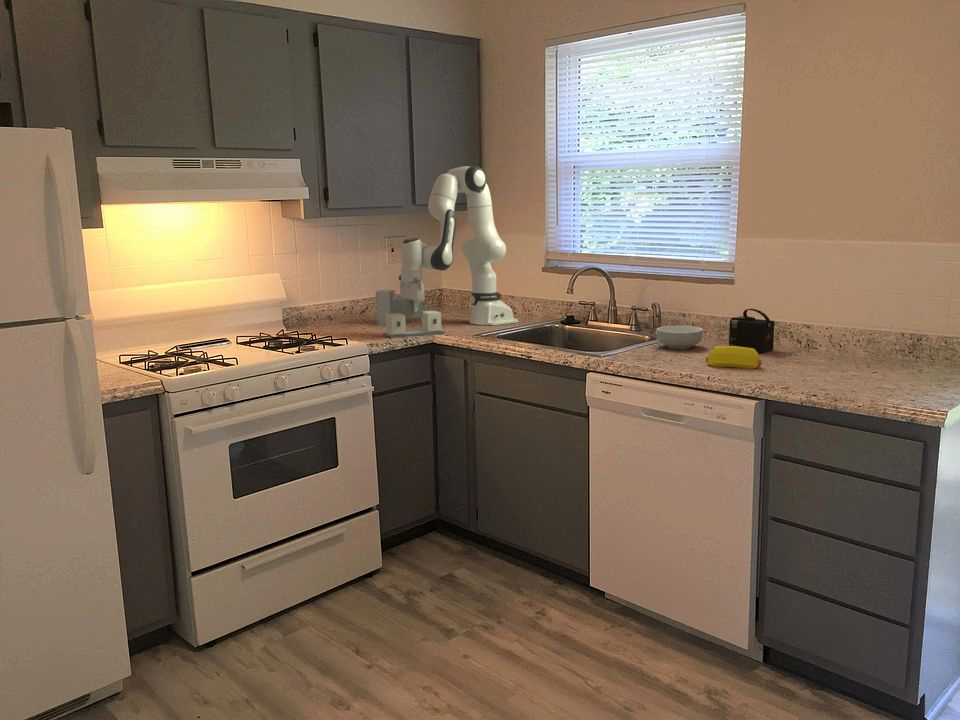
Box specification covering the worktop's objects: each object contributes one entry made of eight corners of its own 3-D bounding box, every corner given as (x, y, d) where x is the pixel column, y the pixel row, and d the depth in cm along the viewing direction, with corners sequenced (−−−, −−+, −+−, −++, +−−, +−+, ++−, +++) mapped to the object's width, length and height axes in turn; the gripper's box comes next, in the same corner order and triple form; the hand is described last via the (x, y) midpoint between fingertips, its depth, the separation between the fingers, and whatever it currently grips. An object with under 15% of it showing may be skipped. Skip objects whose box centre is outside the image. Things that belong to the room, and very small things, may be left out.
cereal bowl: (651, 344, 315) (651, 325, 314) (693, 343, 316) (694, 324, 315) (663, 352, 299) (663, 332, 297) (708, 350, 299) (709, 331, 298)
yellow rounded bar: (760, 371, 264) (763, 366, 270) (761, 350, 262) (764, 346, 269) (703, 367, 271) (707, 362, 278) (703, 347, 270) (708, 343, 277)
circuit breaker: (407, 324, 379) (406, 291, 376) (376, 324, 379) (375, 291, 376) (409, 321, 386) (408, 289, 383) (378, 322, 387) (377, 290, 384)
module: (418, 315, 350) (418, 297, 349) (422, 317, 346) (422, 299, 345) (403, 316, 348) (402, 298, 346) (406, 318, 343) (406, 300, 342)
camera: (741, 345, 308) (743, 306, 306) (776, 350, 298) (778, 309, 296) (725, 349, 301) (727, 308, 298) (761, 354, 291) (763, 312, 288)
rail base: (436, 330, 358) (435, 310, 356) (444, 333, 349) (444, 312, 347) (383, 335, 348) (382, 314, 346) (390, 338, 339) (389, 316, 337)
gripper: (427, 279, 336) (428, 312, 338) (411, 275, 354) (411, 307, 357) (413, 279, 333) (414, 313, 336) (397, 276, 352) (398, 308, 354)
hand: (412, 310), depth 346 cm, fingers closed on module, 5 cm apart
